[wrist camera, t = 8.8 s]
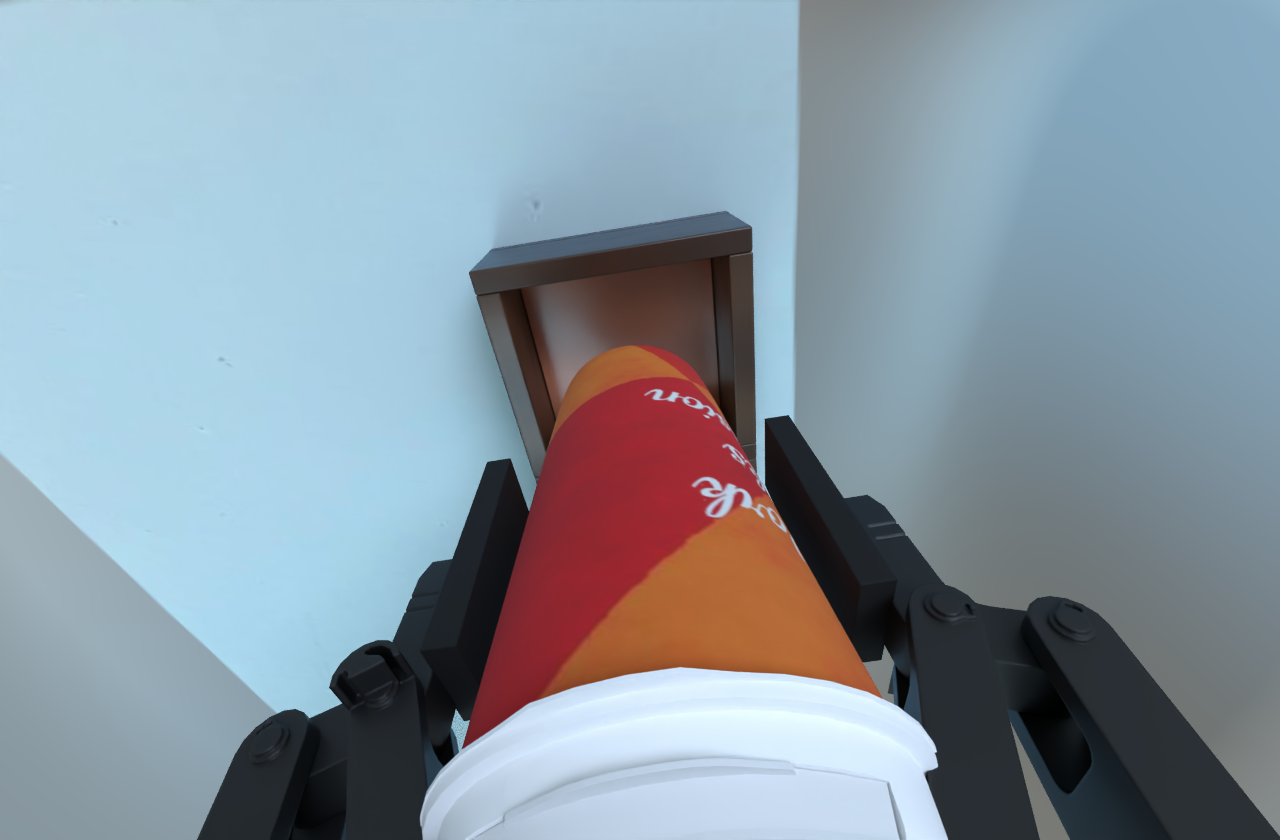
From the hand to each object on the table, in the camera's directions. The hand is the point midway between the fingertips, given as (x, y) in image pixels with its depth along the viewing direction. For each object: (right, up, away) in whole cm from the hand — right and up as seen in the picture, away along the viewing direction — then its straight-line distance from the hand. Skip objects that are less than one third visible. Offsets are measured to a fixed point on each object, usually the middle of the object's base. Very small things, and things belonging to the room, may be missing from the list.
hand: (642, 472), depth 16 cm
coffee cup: (0, +2, +4) cm, 4 cm away
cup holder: (0, +2, +13) cm, 13 cm away
